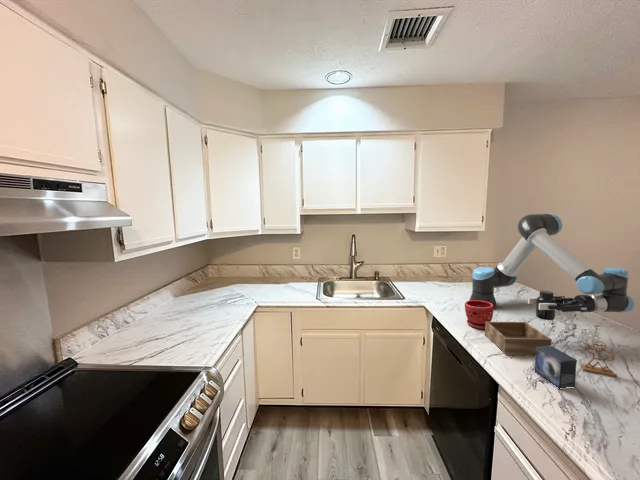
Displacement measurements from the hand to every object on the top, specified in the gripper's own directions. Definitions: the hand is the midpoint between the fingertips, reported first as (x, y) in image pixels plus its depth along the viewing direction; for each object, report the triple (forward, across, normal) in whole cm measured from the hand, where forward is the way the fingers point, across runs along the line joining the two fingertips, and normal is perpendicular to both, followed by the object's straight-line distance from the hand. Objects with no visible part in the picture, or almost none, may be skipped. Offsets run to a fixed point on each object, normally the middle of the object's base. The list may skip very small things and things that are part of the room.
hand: (533, 303), depth 128 cm
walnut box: (+9, -4, -18) cm, 21 cm away
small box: (+11, -30, -18) cm, 36 cm away
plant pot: (+16, +18, -18) cm, 30 cm away
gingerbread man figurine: (-8, -24, -18) cm, 31 cm away
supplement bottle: (-5, 0, -7) cm, 8 cm away
